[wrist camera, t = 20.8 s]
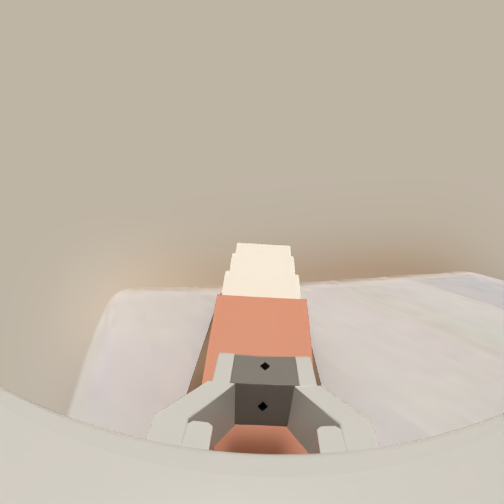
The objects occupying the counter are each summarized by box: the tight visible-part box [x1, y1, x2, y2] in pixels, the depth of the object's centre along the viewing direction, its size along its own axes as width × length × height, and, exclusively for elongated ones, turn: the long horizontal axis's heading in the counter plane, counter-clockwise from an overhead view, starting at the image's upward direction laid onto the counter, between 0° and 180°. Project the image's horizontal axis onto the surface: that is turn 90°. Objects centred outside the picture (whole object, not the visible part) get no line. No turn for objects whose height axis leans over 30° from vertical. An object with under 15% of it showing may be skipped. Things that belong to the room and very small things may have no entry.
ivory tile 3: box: [230, 253, 295, 275], centre depth 21 cm, size 2×5×10 cm
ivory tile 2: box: [222, 271, 301, 299], centre depth 17 cm, size 2×5×10 cm
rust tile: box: [202, 295, 313, 454], centre depth 13 cm, size 2×5×10 cm
